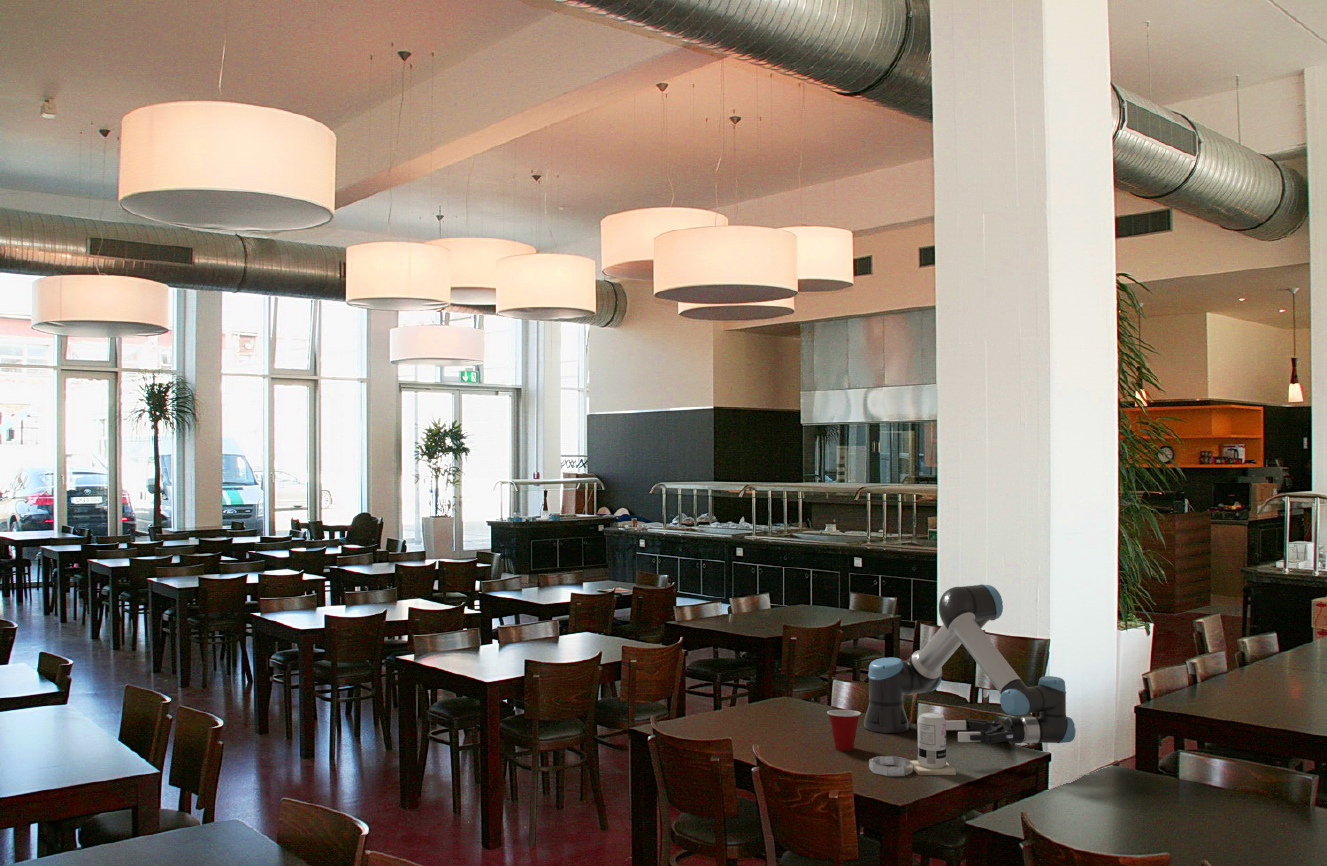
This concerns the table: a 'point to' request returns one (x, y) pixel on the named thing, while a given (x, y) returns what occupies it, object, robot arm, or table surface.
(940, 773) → the board
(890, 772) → the collar
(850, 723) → the plastic cup
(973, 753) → the table surface
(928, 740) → the supplement can
